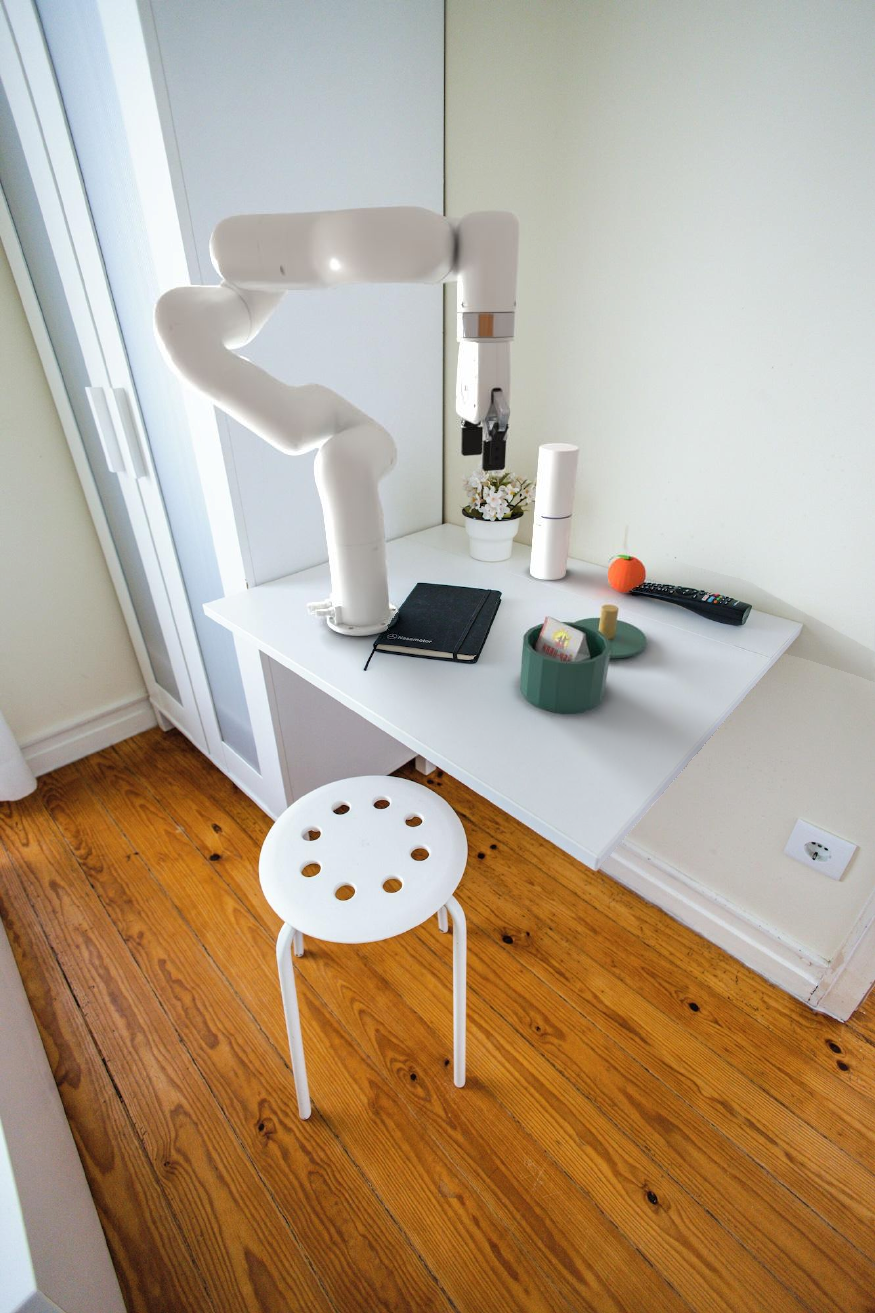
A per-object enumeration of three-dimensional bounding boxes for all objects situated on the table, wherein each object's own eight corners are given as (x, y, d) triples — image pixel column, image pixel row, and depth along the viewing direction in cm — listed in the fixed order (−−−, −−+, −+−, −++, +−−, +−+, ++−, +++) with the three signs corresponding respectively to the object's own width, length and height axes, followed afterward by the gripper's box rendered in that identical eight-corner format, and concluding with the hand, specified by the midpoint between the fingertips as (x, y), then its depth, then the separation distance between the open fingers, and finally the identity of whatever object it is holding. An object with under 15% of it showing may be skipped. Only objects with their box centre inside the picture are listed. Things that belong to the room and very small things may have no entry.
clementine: (593, 588, 117) (598, 553, 113) (616, 579, 120) (621, 545, 117) (627, 602, 111) (633, 566, 107) (650, 592, 115) (656, 557, 111)
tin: (539, 720, 80) (544, 669, 76) (508, 674, 90) (510, 627, 86) (618, 705, 83) (627, 656, 79) (579, 663, 93) (585, 617, 89)
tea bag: (550, 671, 90) (556, 612, 85) (585, 691, 85) (593, 629, 80) (532, 680, 88) (537, 619, 83) (567, 700, 83) (575, 638, 78)
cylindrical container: (555, 582, 119) (568, 453, 106) (524, 574, 123) (532, 448, 110) (571, 571, 124) (585, 446, 111) (540, 563, 128) (551, 441, 115)
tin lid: (588, 666, 92) (593, 631, 89) (552, 628, 103) (556, 596, 99) (661, 654, 95) (668, 620, 92) (619, 619, 105) (624, 587, 102)
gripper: (440, 326, 85) (441, 451, 94) (479, 332, 71) (476, 478, 79) (490, 325, 87) (486, 448, 95) (538, 330, 72) (528, 474, 81)
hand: (482, 462), depth 87 cm, fingers open, 9 cm apart
